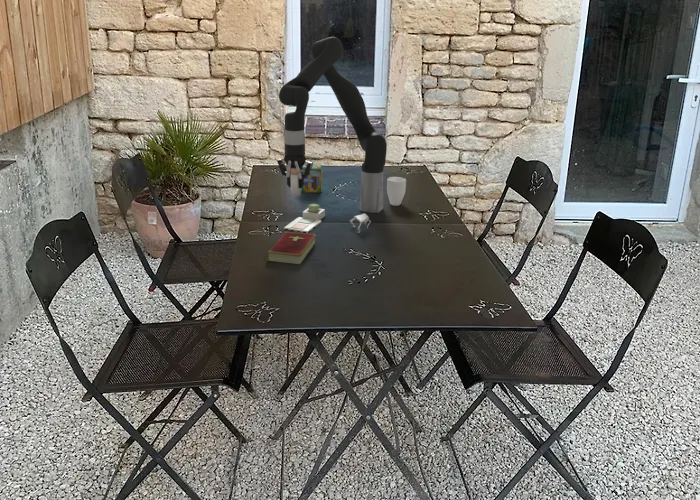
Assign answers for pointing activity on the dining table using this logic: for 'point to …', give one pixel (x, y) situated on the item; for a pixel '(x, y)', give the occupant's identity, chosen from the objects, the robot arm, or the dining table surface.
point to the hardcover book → (291, 247)
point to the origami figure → (361, 220)
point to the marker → (294, 182)
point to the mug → (396, 189)
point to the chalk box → (313, 179)
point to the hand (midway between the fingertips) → (295, 187)
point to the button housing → (314, 214)
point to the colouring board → (303, 224)
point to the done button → (314, 208)
